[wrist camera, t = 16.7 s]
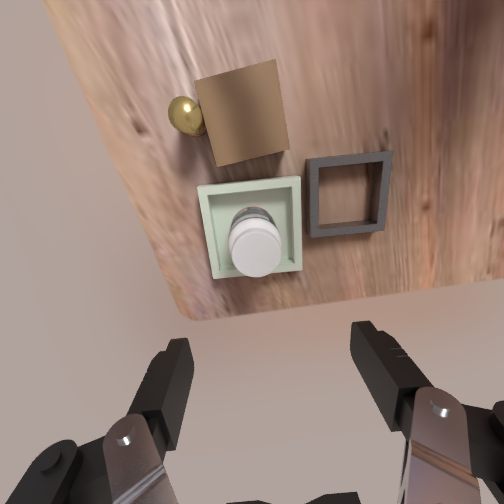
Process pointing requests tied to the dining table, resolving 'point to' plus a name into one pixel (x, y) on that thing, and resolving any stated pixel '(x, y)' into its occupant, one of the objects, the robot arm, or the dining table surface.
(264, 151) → the walnut block
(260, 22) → the dining table surface
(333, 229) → the collar
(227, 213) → the tray
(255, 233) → the pill bottle
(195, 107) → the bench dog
